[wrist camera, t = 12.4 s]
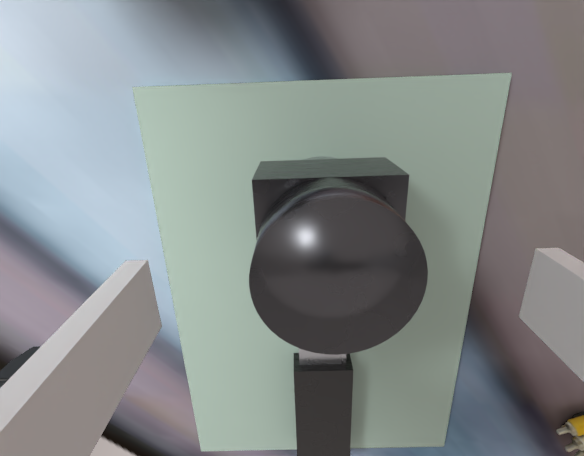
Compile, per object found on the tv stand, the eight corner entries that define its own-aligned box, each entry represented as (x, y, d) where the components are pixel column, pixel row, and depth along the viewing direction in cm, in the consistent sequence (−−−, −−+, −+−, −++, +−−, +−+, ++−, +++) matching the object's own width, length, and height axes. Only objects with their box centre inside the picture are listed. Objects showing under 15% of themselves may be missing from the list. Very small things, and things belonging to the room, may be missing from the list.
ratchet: (268, 158, 20) (260, 178, 15) (373, 154, 20) (397, 174, 15) (285, 441, 28) (283, 510, 24) (358, 439, 28) (371, 508, 23)
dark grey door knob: (260, 161, 18) (241, 201, 11) (385, 156, 18) (438, 195, 11) (268, 271, 20) (255, 356, 14) (378, 267, 20) (418, 352, 14)
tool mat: (135, 87, 19) (132, 87, 18) (507, 73, 18) (511, 72, 18) (202, 446, 29) (201, 451, 29) (442, 441, 29) (443, 446, 28)
